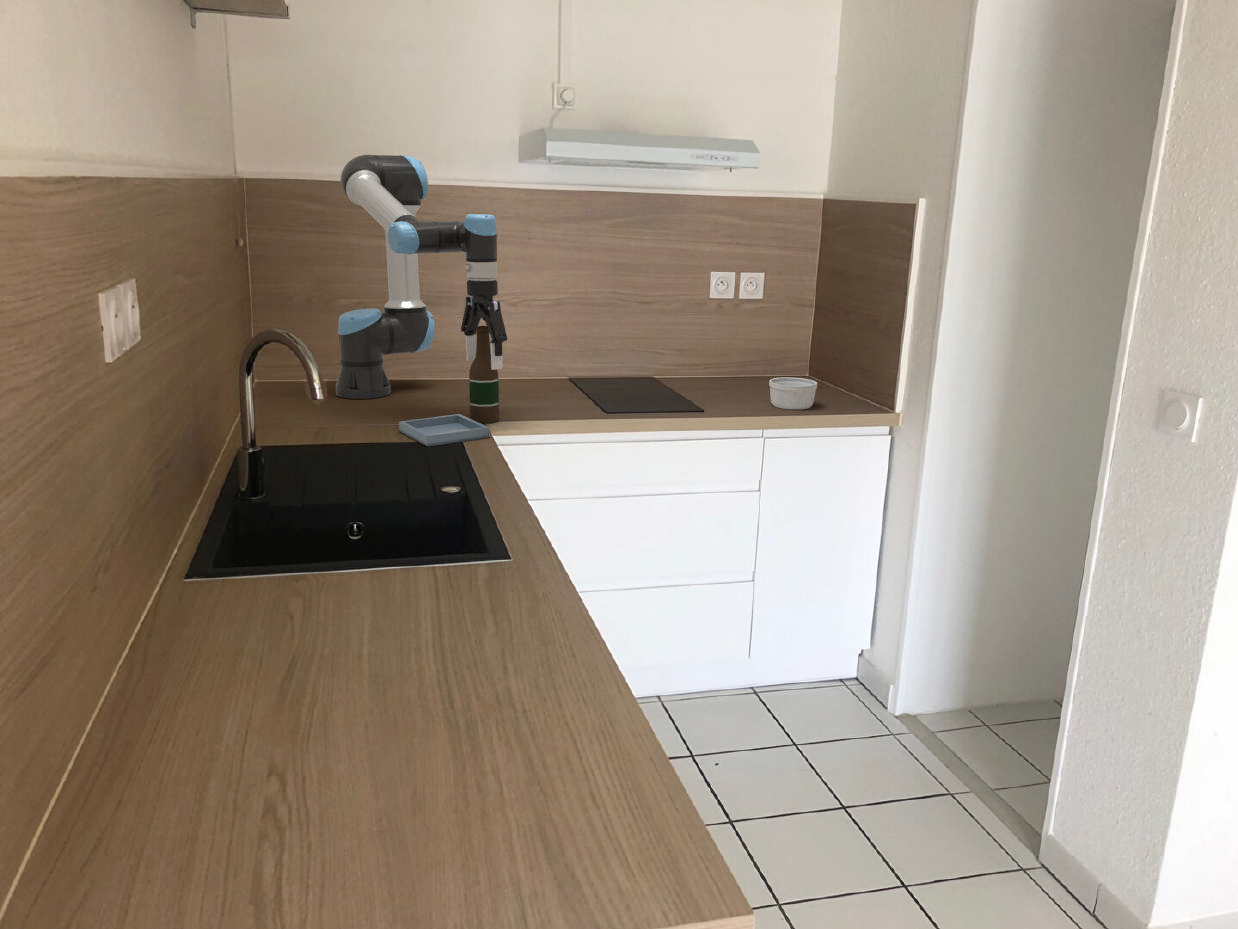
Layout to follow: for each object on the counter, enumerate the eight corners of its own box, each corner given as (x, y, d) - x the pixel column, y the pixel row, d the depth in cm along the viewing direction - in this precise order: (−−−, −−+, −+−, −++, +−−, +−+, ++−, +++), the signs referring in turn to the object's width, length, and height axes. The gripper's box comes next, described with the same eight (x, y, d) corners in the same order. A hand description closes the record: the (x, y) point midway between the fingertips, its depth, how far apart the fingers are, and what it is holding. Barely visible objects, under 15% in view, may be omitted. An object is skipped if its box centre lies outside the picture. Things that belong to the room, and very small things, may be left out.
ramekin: (769, 399, 281) (770, 375, 279) (815, 402, 279) (817, 378, 277) (766, 409, 269) (768, 384, 267) (815, 412, 266) (817, 387, 264)
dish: (399, 431, 237) (399, 421, 236) (459, 423, 246) (459, 413, 245) (427, 446, 224) (426, 436, 224) (489, 437, 233) (489, 427, 232)
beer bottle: (494, 424, 245) (492, 329, 238) (464, 422, 247) (462, 327, 240) (503, 417, 252) (502, 325, 246) (475, 415, 254) (473, 323, 247)
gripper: (446, 275, 247) (448, 358, 253) (492, 284, 228) (494, 374, 233) (472, 274, 251) (475, 356, 257) (520, 282, 232) (521, 371, 237)
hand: (484, 365), depth 245 cm, fingers open, 13 cm apart
